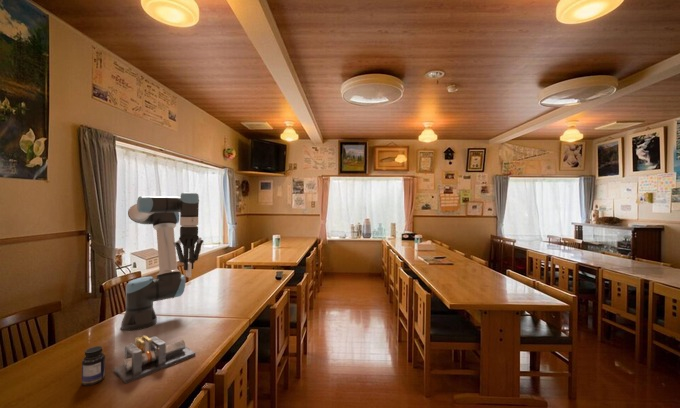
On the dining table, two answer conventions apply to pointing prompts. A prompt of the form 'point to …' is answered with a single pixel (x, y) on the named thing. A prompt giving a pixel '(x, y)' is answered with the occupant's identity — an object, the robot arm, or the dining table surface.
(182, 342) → the air tube
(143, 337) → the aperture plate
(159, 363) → the grey mechanical fixture
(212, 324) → the dining table surface
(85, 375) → the pill bottle
